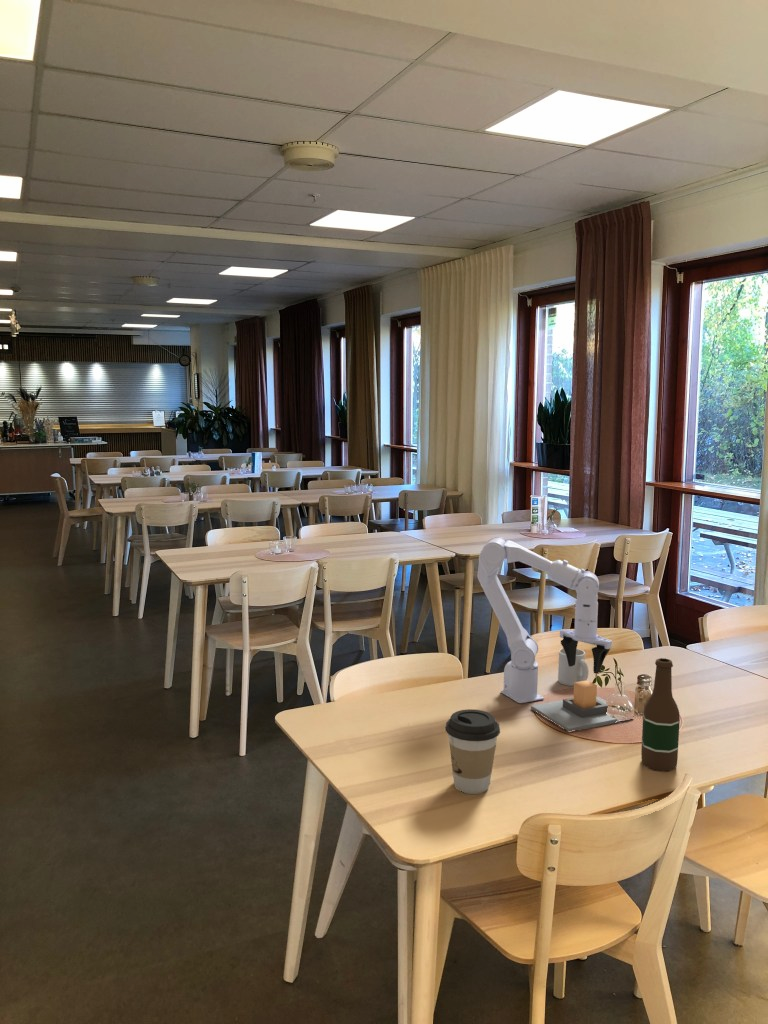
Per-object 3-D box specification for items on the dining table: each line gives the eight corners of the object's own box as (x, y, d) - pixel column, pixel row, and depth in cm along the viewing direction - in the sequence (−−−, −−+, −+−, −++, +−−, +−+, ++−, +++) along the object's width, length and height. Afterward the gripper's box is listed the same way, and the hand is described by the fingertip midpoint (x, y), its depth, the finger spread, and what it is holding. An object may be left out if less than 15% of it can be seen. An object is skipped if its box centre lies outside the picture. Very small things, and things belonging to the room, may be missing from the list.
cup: (571, 676, 236) (572, 646, 235) (596, 686, 227) (597, 656, 226) (552, 680, 232) (553, 650, 231) (577, 691, 224) (578, 660, 223)
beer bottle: (672, 775, 175) (678, 668, 171) (636, 766, 179) (641, 661, 175) (680, 761, 181) (686, 658, 178) (645, 753, 185) (650, 652, 182)
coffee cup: (435, 779, 173) (435, 712, 171) (481, 769, 177) (482, 703, 175) (460, 803, 163) (461, 732, 160) (509, 792, 167) (511, 723, 165)
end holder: (531, 709, 211) (531, 698, 211) (593, 697, 219) (593, 687, 219) (568, 732, 197) (568, 720, 196) (633, 719, 205) (634, 708, 204)
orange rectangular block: (573, 708, 209) (574, 682, 208) (585, 706, 211) (586, 680, 210) (583, 714, 205) (584, 687, 204) (595, 711, 207) (596, 685, 206)
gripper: (553, 616, 214) (552, 665, 216) (602, 627, 204) (600, 679, 206) (568, 611, 219) (567, 659, 221) (617, 622, 209) (614, 673, 211)
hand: (584, 669), depth 214 cm, fingers open, 7 cm apart
